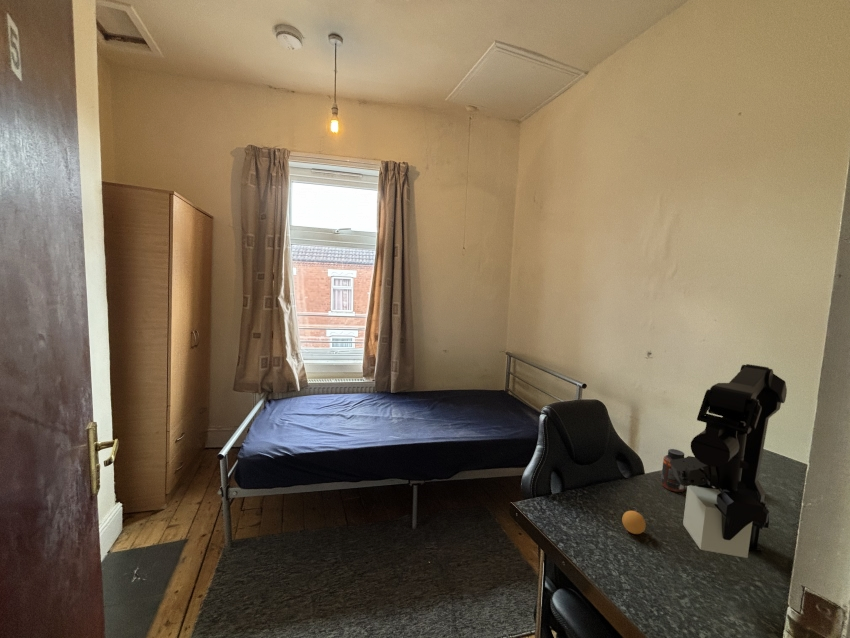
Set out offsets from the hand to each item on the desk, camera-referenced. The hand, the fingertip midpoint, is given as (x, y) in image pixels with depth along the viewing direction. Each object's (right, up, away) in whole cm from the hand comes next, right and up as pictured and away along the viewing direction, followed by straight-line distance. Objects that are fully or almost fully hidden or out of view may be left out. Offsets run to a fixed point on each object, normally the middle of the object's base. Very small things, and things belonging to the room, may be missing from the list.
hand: (715, 525), depth 73 cm
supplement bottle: (+17, -10, +38) cm, 42 cm away
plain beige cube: (0, -3, 0) cm, 3 cm away
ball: (-7, -8, +16) cm, 20 cm away
